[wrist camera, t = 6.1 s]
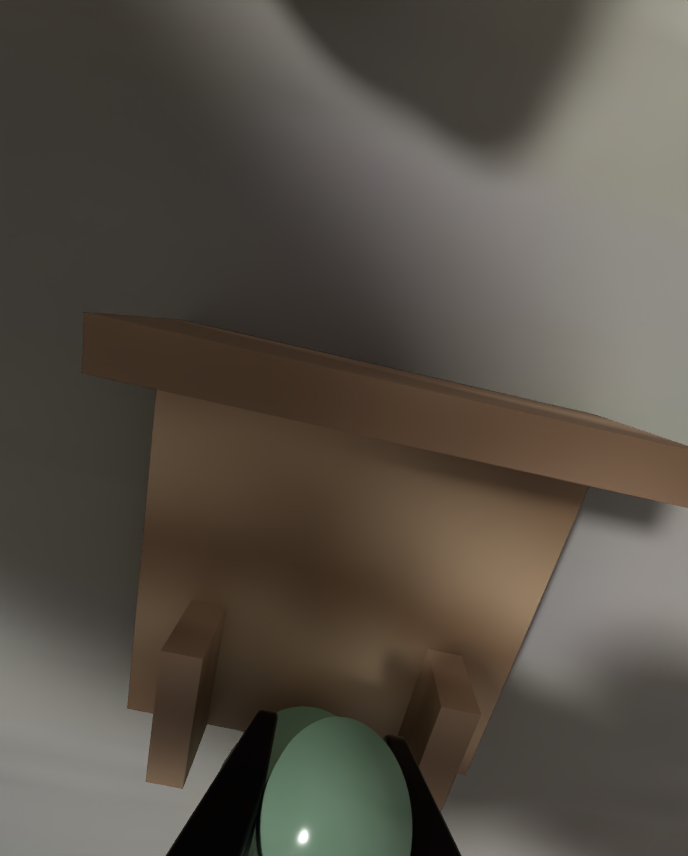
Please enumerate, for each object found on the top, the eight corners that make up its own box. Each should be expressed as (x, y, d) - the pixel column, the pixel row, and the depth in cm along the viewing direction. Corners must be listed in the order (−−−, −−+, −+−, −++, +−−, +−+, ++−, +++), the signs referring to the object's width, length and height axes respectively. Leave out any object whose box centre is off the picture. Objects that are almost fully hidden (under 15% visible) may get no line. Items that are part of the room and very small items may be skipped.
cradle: (458, 745, 15) (495, 890, 11) (142, 683, 14) (65, 811, 11) (594, 414, 11) (719, 456, 7) (179, 319, 11) (84, 312, 7)
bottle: (321, 955, 11) (506, 1200, 4) (184, 910, 11) (84, 1053, 4) (349, 764, 14) (475, 682, 7) (243, 730, 14) (254, 614, 7)
